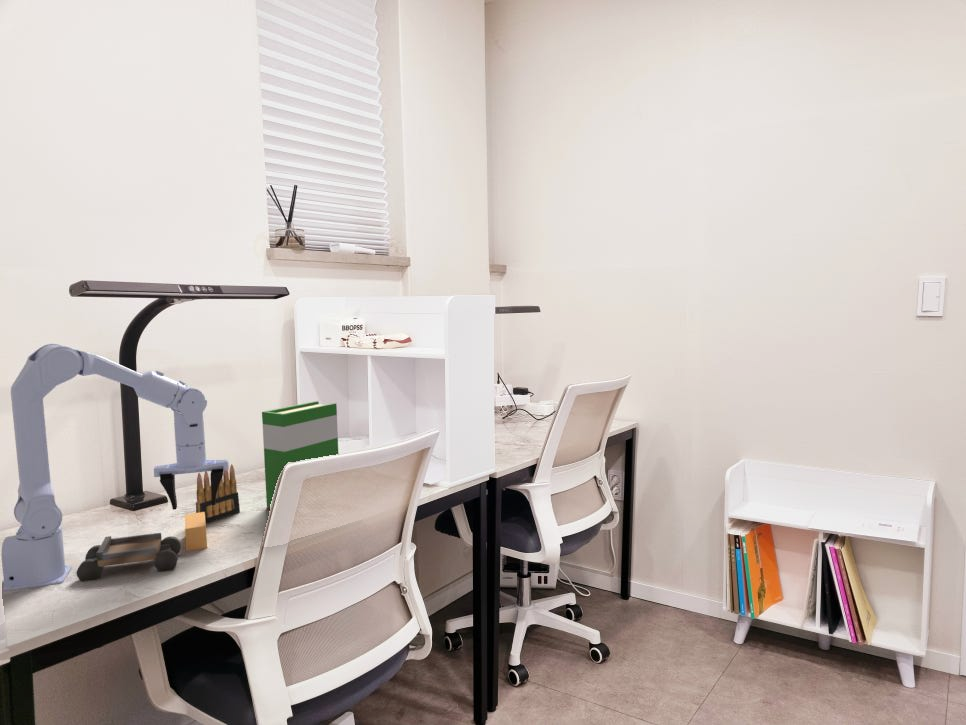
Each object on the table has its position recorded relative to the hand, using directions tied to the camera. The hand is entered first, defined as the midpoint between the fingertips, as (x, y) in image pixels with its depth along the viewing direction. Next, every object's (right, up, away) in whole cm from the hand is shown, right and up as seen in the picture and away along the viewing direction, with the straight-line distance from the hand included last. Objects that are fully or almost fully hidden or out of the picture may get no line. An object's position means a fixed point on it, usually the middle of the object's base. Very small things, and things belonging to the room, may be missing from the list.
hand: (194, 506), depth 149 cm
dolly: (-7, -10, -13) cm, 17 cm away
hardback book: (+16, -5, +29) cm, 33 cm away
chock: (0, -8, +1) cm, 8 cm away
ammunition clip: (-1, -6, +16) cm, 17 cm away
